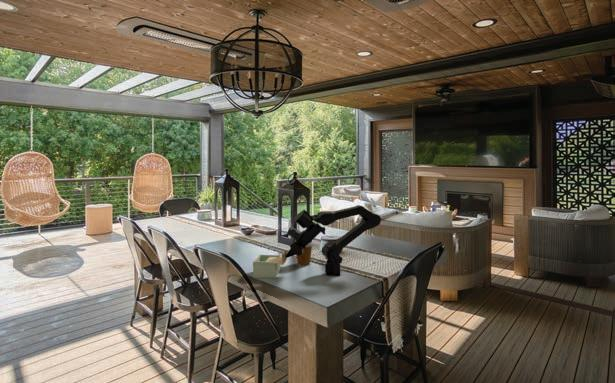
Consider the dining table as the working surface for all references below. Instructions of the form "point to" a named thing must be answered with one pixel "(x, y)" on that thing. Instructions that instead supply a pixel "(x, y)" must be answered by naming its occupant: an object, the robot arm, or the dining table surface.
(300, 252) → the robot arm
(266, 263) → the box
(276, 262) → the lid
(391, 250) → the dining table surface
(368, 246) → the dining table surface
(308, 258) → the disposable coffee cup
